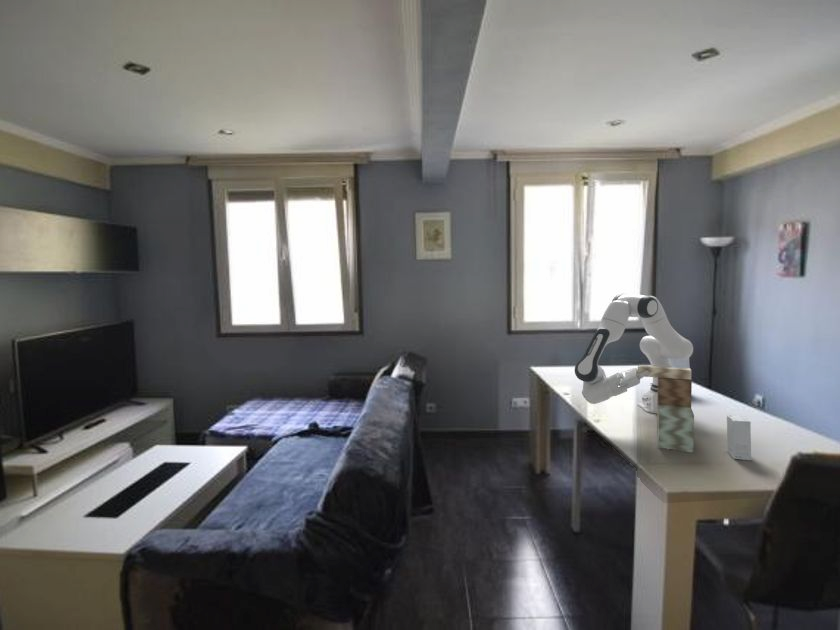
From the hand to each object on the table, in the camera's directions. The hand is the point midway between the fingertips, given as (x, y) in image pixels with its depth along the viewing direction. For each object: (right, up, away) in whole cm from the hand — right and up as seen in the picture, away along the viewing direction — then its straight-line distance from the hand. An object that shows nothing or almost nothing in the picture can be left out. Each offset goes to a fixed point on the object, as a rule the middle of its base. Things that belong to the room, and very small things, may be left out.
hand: (648, 370), depth 189 cm
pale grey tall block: (+50, -23, +67) cm, 87 cm away
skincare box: (+22, -30, -23) cm, 44 cm away
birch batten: (+5, -3, -2) cm, 6 cm away
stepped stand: (+7, -29, -7) cm, 31 cm away
